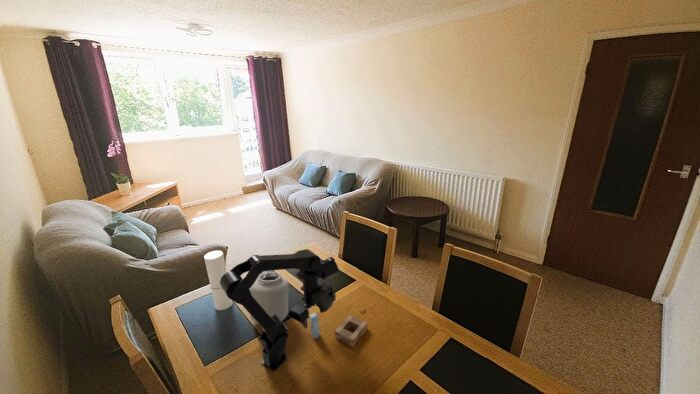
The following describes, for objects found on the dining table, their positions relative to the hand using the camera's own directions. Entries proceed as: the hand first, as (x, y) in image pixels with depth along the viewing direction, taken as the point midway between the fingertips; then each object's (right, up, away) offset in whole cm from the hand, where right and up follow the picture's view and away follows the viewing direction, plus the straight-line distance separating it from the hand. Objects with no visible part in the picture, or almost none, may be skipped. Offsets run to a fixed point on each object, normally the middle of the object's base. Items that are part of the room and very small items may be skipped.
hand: (314, 319), depth 104 cm
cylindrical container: (-43, -2, +20) cm, 47 cm away
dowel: (0, -7, +2) cm, 7 cm away
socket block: (+14, -6, +3) cm, 16 cm away
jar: (-19, -4, +13) cm, 23 cm away
